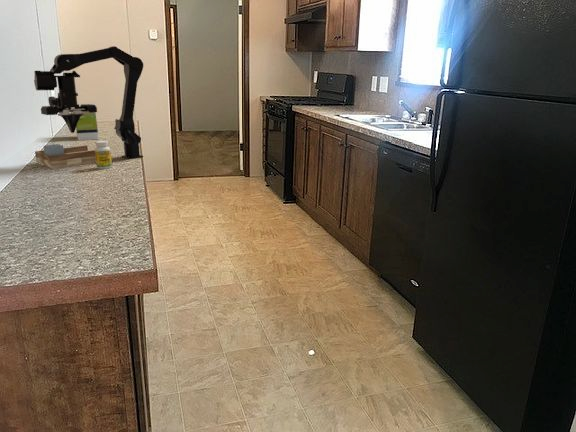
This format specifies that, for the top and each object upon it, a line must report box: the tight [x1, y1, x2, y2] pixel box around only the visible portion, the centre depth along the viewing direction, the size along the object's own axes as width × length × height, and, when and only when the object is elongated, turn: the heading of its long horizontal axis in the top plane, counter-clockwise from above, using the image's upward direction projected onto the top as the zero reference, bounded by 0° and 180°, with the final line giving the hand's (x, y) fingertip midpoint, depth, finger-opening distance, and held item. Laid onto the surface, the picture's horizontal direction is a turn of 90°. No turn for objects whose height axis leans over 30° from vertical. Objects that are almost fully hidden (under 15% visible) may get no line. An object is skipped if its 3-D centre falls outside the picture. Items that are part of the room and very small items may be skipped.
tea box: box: [75, 111, 100, 141], centre depth 240 cm, size 15×10×15 cm
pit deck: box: [34, 145, 96, 169], centre depth 182 cm, size 14×20×4 cm
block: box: [43, 143, 65, 156], centre depth 174 cm, size 5×5×5 cm
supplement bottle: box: [94, 140, 113, 170], centre depth 172 cm, size 5×5×10 cm
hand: (72, 132), depth 178 cm, fingers closed
